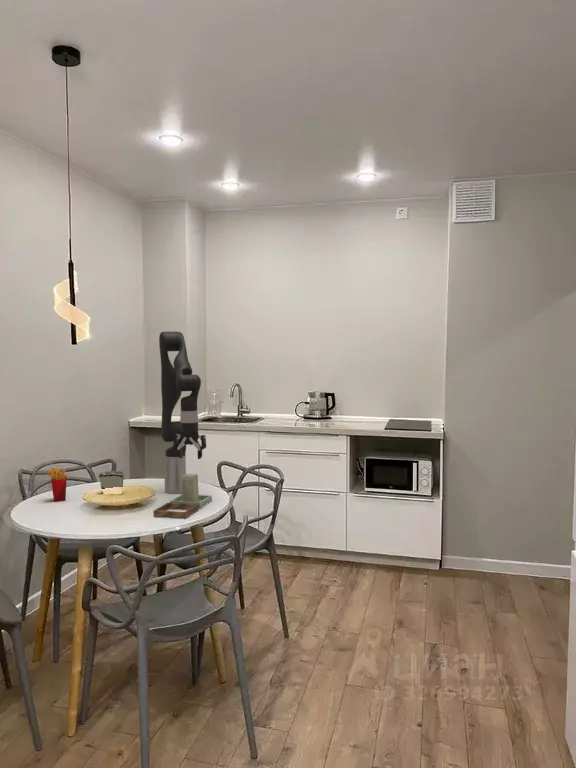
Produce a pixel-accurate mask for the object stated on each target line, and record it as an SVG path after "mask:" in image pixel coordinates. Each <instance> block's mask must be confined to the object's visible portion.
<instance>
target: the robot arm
mask: <svg viewBox="0 0 576 768" xmlns="http://www.w3.org/2000/svg"><path fill="white" fill-rule="evenodd" d="M158 340H159V341H158V343H159V344H158V346H159V355H160V368H161V369H160V370H161V371H160V372H161V373H160V375H161V376H160V379H161V380H160V386H161V390H160V391H161V406H162V407H161V408H162V409H161V410H162V411H161V425H160V426H161V431H160V432H161V433H160V434H161V438H162V440H163V441H164V442H165V443H171V442H173V445H172V446H170V447H168V448H167V449H166V450H165V472H164V474H163V475H164V493H167V494H172V495H174V494H177V495H178V494H182V487H181V476H182V475H184V474H187V465H186V464H187V462H186V461H187V458H186V451H187V445H189V446H193V447H195V448H196V449H197V459H198V460H201V459H202V458H203V450H205V449H206V448H207V439H206V437H207V436H206V434H201V435H200V434H199V414H198V398H199V393H200V389H201V387H202V386H201V385H202V380H201V377H200V376H199V375H198V374H193V369H192V365H191V364H190V363H191V362H190V361H189V358H188V351H187V345H186V341H185V337H184V334H183V333H182V332H181V331H161V332H160V333H159V336H158ZM169 352H178V353H177V354H176V356H175V357H174V359H173V364H172V362H171V360H170V357H169ZM182 392H190V394H189V395H187V396H184V397H181V396H182ZM179 400H180V414H179V415H180V418H179V421H172V416H173V411H174V410H175V407H176V405H177V403H178V402H179ZM199 440H200V442H201V443H200V442H199Z"/></svg>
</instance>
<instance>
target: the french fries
mask: <svg viewBox="0 0 576 768" xmlns="http://www.w3.org/2000/svg"><path fill="white" fill-rule="evenodd" d="M66 471H67V469H63V470H61V471H60V470H59V468H58V467H54V466H52V467H51V470H50V471H45V474H46V475H48V476H49V477H50V479H51V480H50V481H51V489H52V490H51V491H52V496H53V497H52V498H53V502H54V503H58V502H66V497H67V476H68V473H65V472H66Z"/></svg>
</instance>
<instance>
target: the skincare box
mask: <svg viewBox="0 0 576 768" xmlns="http://www.w3.org/2000/svg"><path fill="white" fill-rule="evenodd" d="M198 478H199V475H198V474H196V473H193V474H192V473H186V474H184V475H182V476H181V487H182V493H181V495H182V502H199V495H200V494H199V493H200V492H199V479H198Z"/></svg>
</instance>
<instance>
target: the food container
mask: <svg viewBox="0 0 576 768" xmlns="http://www.w3.org/2000/svg"><path fill="white" fill-rule="evenodd" d="M98 478H99V481H100V489H105V488H113V487H123V488H124V478H126V476H125V473H124V471H121V470H120V471H119V470H111V471H110V470H109V471H108V470H107V471H103V472H99V474H98Z"/></svg>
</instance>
